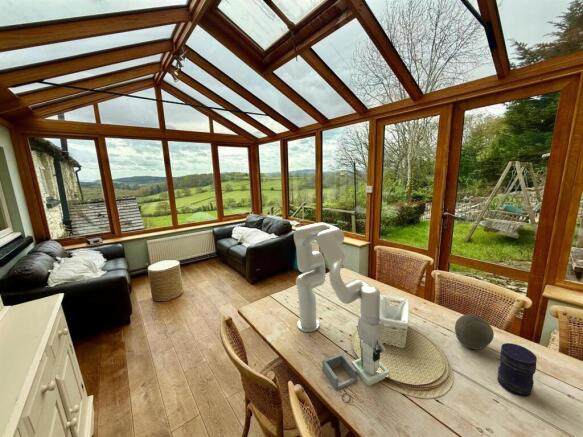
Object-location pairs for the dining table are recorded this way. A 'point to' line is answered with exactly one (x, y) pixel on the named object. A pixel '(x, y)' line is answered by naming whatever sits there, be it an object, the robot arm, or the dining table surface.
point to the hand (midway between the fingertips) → (369, 353)
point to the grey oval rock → (473, 331)
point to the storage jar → (516, 369)
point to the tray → (368, 377)
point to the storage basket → (394, 320)
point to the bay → (335, 362)
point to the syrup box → (368, 358)
